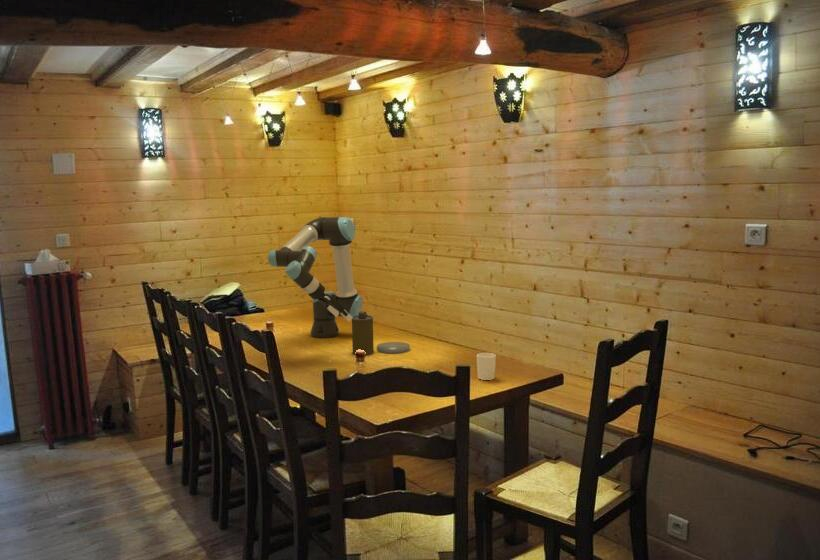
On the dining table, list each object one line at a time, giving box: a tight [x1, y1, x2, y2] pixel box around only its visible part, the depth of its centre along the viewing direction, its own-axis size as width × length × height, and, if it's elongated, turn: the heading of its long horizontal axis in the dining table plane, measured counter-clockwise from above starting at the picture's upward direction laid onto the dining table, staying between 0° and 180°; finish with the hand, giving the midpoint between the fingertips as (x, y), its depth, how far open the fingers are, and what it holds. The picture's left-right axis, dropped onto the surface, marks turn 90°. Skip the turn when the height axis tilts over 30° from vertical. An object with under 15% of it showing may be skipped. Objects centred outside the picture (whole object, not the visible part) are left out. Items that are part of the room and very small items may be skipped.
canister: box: [351, 310, 375, 356], centre depth 323 cm, size 11×10×20 cm
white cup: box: [476, 352, 497, 381], centre depth 279 cm, size 8×8×10 cm
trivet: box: [376, 341, 411, 355], centre depth 329 cm, size 16×16×2 cm
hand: (344, 317), depth 316 cm, fingers open, 13 cm apart
